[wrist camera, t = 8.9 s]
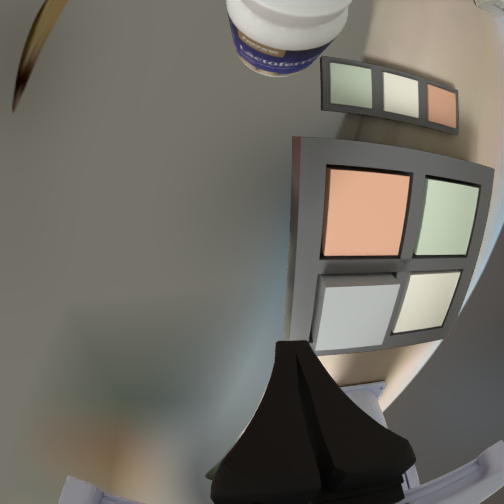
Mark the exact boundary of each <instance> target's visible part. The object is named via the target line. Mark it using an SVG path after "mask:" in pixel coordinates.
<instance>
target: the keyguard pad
mask: <svg viewBox="0 0 504 504" xmlns="http://www.w3.org/2000/svg"><path fill="white" fill-rule="evenodd" d="M326 164H334V165H348V166H360V167H371V168H380V169H389V170H392V171H395V172H397V173H400V174H403V175H406V176H409V177H410V178H409V188H408V196H407V204H406V211H405V218H404V224H403V230H402V236H401V241H400V247H399V252H398V255H363V256H324V254H323V253H322V251H321V249H320V247H321V236H322V224H323V211H324V196H325V177H326ZM291 173H292V174H291V208H290V210H291V211H290V233H289V254H288V273H287V289H286V304H285V318H284V335H285V341H293V340H307V341H308V342H309V344H310V346H311V347H312V349H313V351H314V353H315V354H316V356H324V355H337V354H348V353H358V352H366V351H375V350H382V349H389V348H396V347H403V346H409V345H415V344H420V343H426V342H431V341H436V340H441V339H446V338H448V337H449V335H450V333H451V330H452V328H453V326H454V324H455V321H456V319H457V316H458V314H459V311H460V309H461V306H462V304H463V301H464V298H465V296H466V293H467V290H468V287H469V284H470V281H471V278H472V275H473V272H474V269H475V265H476V262H477V259H478V255H479V251H480V248H481V244H482V240H483V235H484V231H485V226H486V222H487V217H488V211H489V206H490V200H491V193H492V186H493V178H494V169H493V168H490V167H487V166H483V165H480V164H476V163H472V162H469V161H465V160H461V159H457V158H453V157H448V156H444V155H439V154H435V153H430V152H425V151H420V150H414V149H409V148H403V147H397V146H390V145H384V144H376V143H369V142H360V141H351V140H341V139H329V138H315V137H293V136H292V172H291ZM425 175H433V176H439V177H445V178H450V179H455V180H458V181H461V182H464V183H466V184H469V185H472V186H475V187H477V188H479V191H478V198H477V204H476V210H475V216H474V221H473V226H472V230H471V235H470V239H469V243H468V247H467V251H466V254H460V255H415V254H414V253H413V251H414V246H415V241H416V236H417V231H418V226H419V220H420V214H421V207H422V200H423V193H424V184H425ZM453 269H457V270H458V271H460V276H459V279H458V282H457V285H456V288H455V291H454V294H453V297H452V300H451V302H450V305H449V308H448V310H447V313H446V316H445V318H444V321H443V323H442V325H441V326H436V327H430V328H424V329H418V330H411V331H404V332H397V333H393V331H392V327H393V324H394V321H395V318H396V315H397V312H398V309H399V305H400V302H401V298H402V295H403V291H404V288H405V284H406V280H407V276H408V273H409V271H433V270H453ZM381 272H390V273H391V274H392V275H393V276H394V277H395V279H396V280H397V281H398V282H399V283H400V287H399V291H398V295H397V298H396V302H395V305H394V308H393V312H392V315H391V318H390V321H389V325H388V328H387V331H386V334H385V337H384V340H383V342H382V345H373V346H365V347H355V348H345V349H333V350H319V351H315V347H314V343H313V339H312V335H311V331H310V329H311V322H312V315H313V308H314V300H315V292H316V284H317V276H318V274H345V273H381Z"/></svg>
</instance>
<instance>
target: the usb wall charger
mask: <svg viewBox="0 0 504 504" xmlns="http://www.w3.org/2000/svg"><path fill="white" fill-rule="evenodd" d="M475 3H476V6H477V7H479V8H480V9H482V10H484V11H486V12H487V13H489V14H490V15H492V16H494V17H496V18H502V17H504V0H475Z"/></svg>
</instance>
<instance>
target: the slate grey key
mask: <svg viewBox="0 0 504 504" xmlns="http://www.w3.org/2000/svg"><path fill="white" fill-rule="evenodd" d="M399 287H400V283H399V282H398V281H397V280H396V279H395V277H394V276H393V275H392V274H391V273H390V272H381V273H345V274H318V276H317V284H316V292H315V300H314V308H313V315H312V322H311V329H310V331H311V335H312V339H313V343H314V347H315V351H319V350H333V349H345V348H355V347H365V346H373V345H382V342H383V340H384V337H385V334H386V331H387V328H388V325H389V321H390V318H391V315H392V312H393V308H394V305H395V302H396V298H397V295H398V291H399Z"/></svg>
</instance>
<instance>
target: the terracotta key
mask: <svg viewBox="0 0 504 504" xmlns="http://www.w3.org/2000/svg"><path fill="white" fill-rule="evenodd" d="M409 178H410V177H409V176H406V175H403V174H400V173H397V172H395V171H392V170H387V169H378V168H368V167H357V166H344V165H329V164H326V177H325V196H324V211H323V224H322V236H321V247H320V249H321V251H322V253H323V254H324V256H363V255H398V252H399V247H400V241H401V236H402V230H403V224H404V218H405V211H406V204H407V196H408V188H409Z"/></svg>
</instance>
